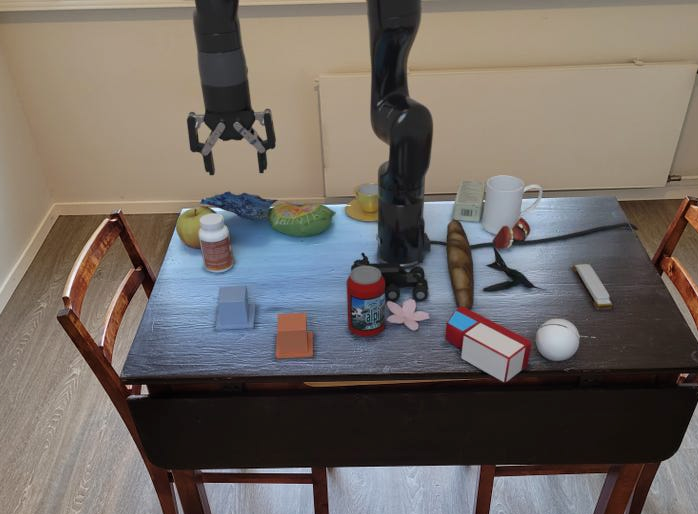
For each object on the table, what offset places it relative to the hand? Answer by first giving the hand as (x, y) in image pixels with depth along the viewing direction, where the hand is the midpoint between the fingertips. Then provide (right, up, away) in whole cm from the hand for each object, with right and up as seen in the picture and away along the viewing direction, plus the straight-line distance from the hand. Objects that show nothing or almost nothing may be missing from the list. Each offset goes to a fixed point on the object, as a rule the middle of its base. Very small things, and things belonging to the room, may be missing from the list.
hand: (237, 172), depth 121 cm
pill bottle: (-8, -13, +26) cm, 30 cm away
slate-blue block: (-2, -24, +11) cm, 27 cm away
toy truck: (+45, -28, +1) cm, 53 cm away
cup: (+24, +2, +43) cm, 49 cm away
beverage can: (+23, -27, +8) cm, 36 cm away
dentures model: (+51, -8, +26) cm, 57 cm away
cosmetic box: (+46, +1, +36) cm, 58 cm away
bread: (+42, -14, +22) cm, 49 cm away
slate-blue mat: (-2, -25, +11) cm, 27 cm away
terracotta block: (+10, -30, +4) cm, 31 cm away
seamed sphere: (+54, -32, -5) cm, 63 cm away
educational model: (+2, +4, +37) cm, 37 cm away
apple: (-12, -7, +32) cm, 35 cm away
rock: (-4, +5, +29) cm, 30 cm away
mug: (+55, -3, +35) cm, 65 cm away
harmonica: (+67, -19, +16) cm, 71 cm away
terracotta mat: (+10, -30, +4) cm, 32 cm away
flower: (+30, -25, +10) cm, 40 cm away
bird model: (+52, -12, +22) cm, 58 cm away
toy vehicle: (+27, -19, +17) cm, 37 cm away
